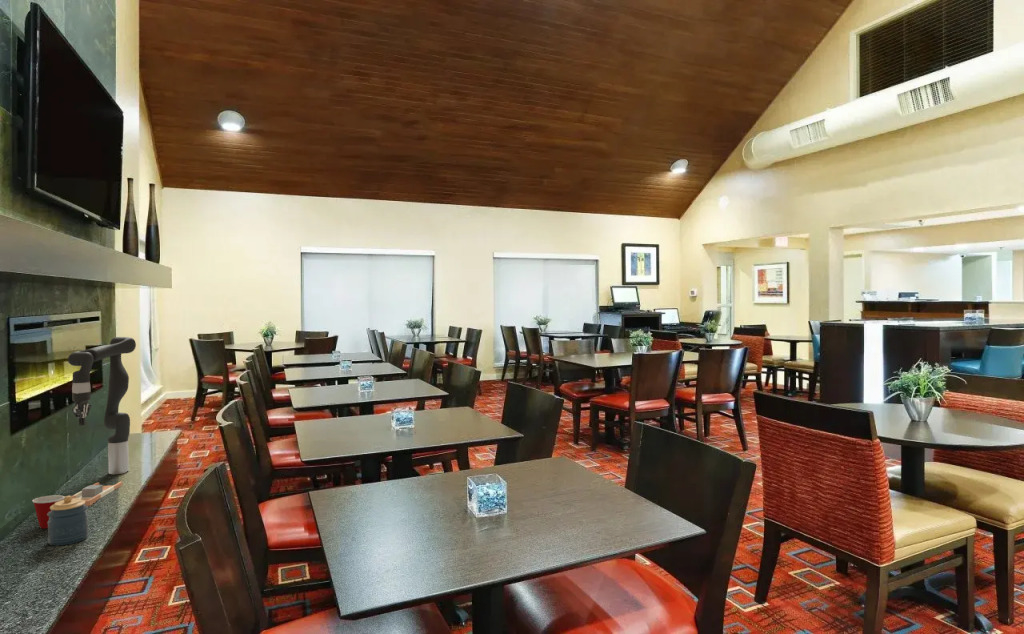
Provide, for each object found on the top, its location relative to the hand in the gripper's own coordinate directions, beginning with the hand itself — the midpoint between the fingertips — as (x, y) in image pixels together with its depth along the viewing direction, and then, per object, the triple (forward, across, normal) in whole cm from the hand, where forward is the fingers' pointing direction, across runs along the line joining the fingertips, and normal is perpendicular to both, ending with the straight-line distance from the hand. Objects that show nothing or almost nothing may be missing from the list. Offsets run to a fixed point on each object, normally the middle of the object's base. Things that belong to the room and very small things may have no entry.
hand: (82, 425), depth 297 cm
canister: (+32, +71, +33) cm, 85 cm away
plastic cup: (+32, +54, +16) cm, 65 cm away
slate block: (+31, +16, +13) cm, 37 cm away
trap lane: (+32, +15, +13) cm, 38 cm away
